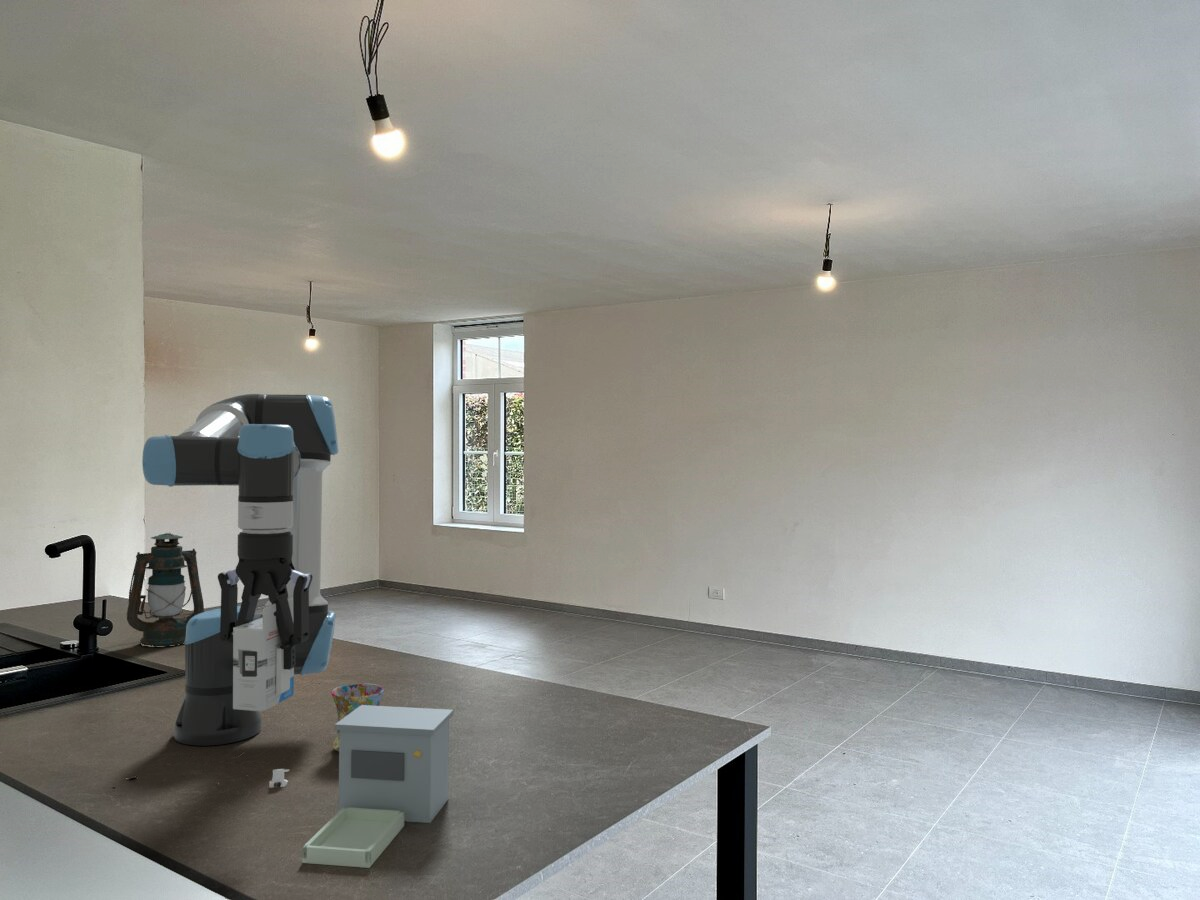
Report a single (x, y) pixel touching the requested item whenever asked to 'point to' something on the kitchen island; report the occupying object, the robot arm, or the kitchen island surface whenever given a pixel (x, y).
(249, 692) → the ink box
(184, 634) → the lantern
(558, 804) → the kitchen island surface
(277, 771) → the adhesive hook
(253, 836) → the kitchen island surface
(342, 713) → the mug
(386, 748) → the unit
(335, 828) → the tray
